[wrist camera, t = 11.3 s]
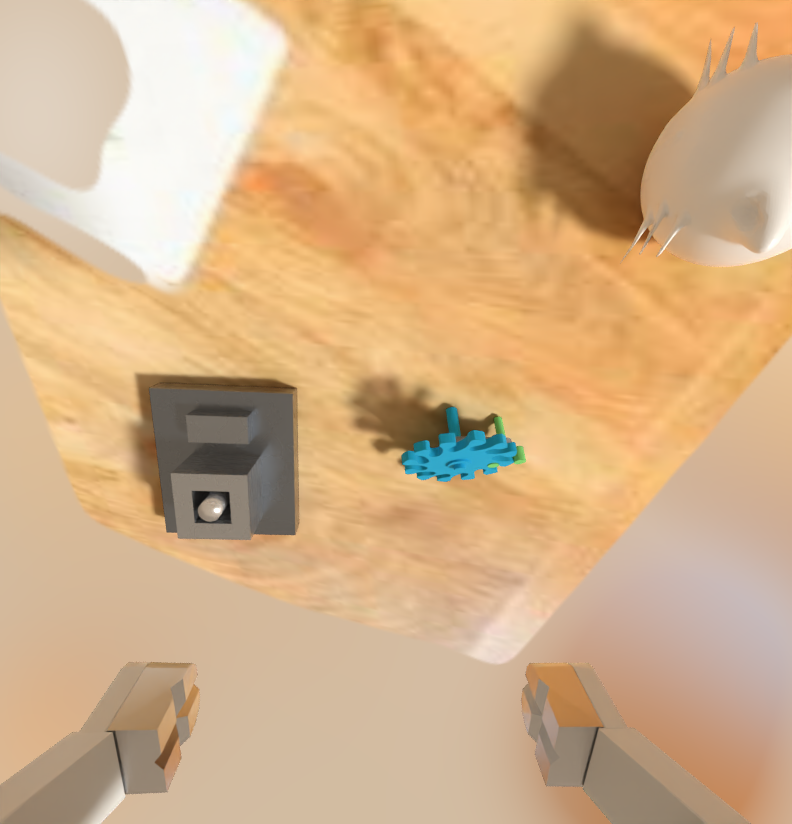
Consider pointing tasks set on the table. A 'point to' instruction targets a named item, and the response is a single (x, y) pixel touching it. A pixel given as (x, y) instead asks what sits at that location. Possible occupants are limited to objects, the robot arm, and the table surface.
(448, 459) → the gear
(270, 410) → the shaft stand
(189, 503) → the collar
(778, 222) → the cat head
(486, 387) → the table surface
